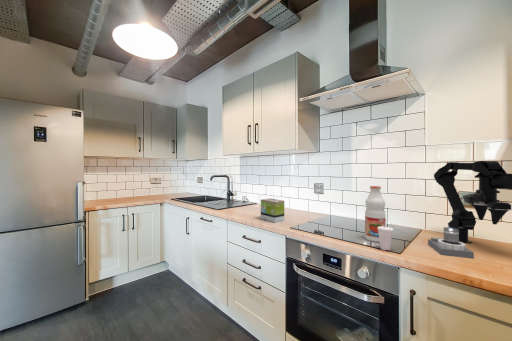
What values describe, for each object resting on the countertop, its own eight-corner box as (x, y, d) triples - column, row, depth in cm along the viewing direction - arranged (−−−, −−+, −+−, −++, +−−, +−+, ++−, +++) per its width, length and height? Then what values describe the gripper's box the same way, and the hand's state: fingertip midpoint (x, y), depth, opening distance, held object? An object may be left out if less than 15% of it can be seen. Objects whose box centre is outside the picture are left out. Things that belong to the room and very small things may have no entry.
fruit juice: (377, 236, 119) (378, 185, 119) (389, 242, 110) (389, 187, 110) (361, 236, 119) (361, 185, 119) (371, 242, 109) (372, 186, 109)
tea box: (260, 219, 159) (260, 199, 159) (269, 217, 166) (269, 198, 166) (275, 223, 148) (275, 201, 148) (284, 221, 154) (285, 200, 154)
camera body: (427, 244, 107) (428, 235, 107) (455, 247, 104) (455, 237, 104) (441, 254, 94) (441, 244, 94) (473, 258, 91) (473, 247, 91)
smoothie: (394, 248, 101) (394, 218, 101) (391, 252, 96) (392, 221, 96) (379, 245, 105) (379, 216, 105) (375, 249, 100) (375, 218, 100)
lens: (441, 244, 100) (441, 226, 100) (454, 245, 99) (454, 227, 99) (446, 247, 96) (446, 229, 96) (461, 249, 94) (461, 230, 94)
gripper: (455, 186, 111) (454, 216, 111) (478, 189, 94) (477, 225, 94) (483, 186, 108) (482, 218, 108) (512, 190, 90) (512, 227, 90)
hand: (487, 222), depth 100 cm, fingers open, 9 cm apart
